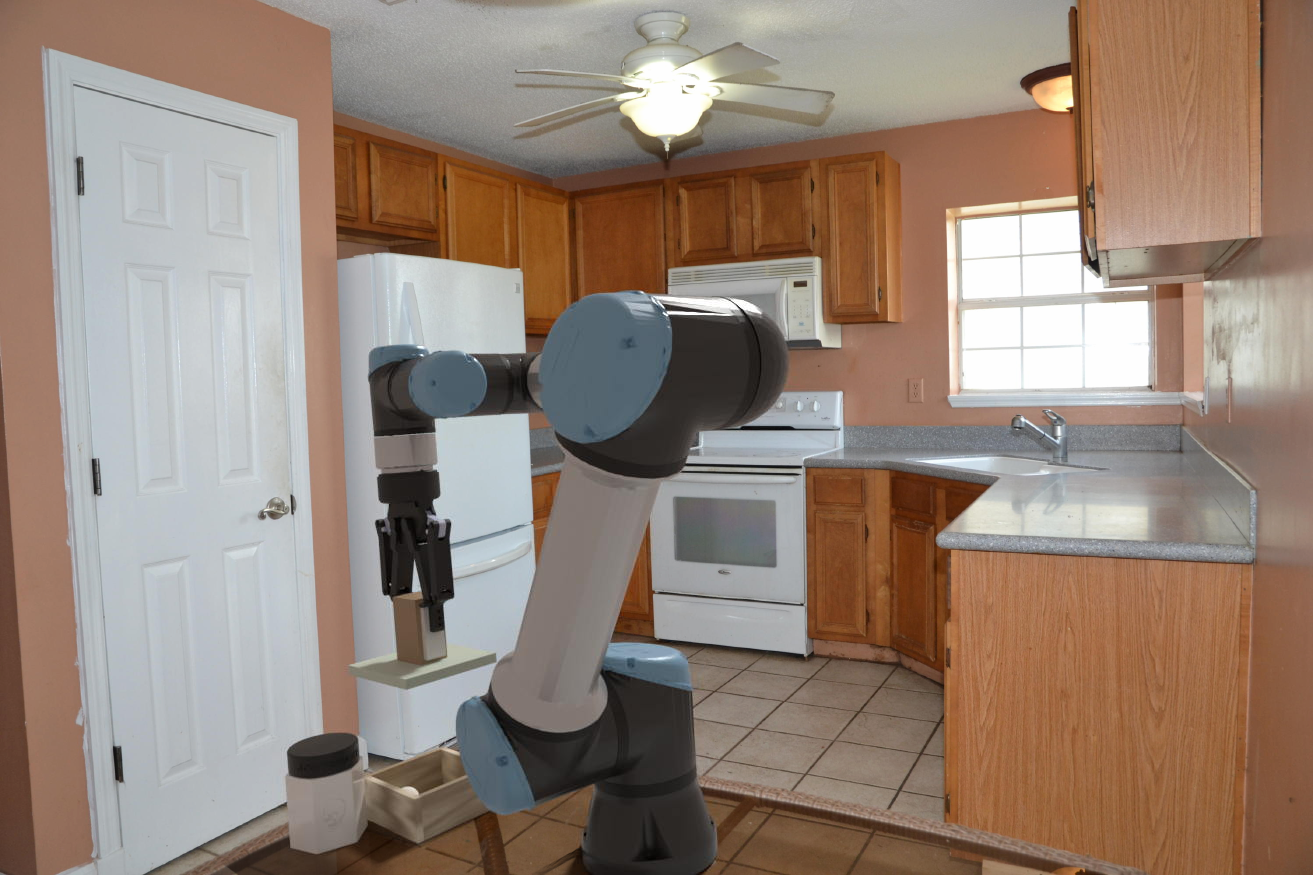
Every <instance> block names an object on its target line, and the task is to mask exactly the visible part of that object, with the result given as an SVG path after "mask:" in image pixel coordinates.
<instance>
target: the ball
mask: <svg viewBox="0 0 1313 875" xmlns="http://www.w3.org/2000/svg"><path fill="white" fill-rule="evenodd" d="M401 789H403V790H405V791H408V792H410V793H413V794H415V795H419V793H418V791H417V790H416V789H415V788H413V787H403V788H401Z"/></svg>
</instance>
